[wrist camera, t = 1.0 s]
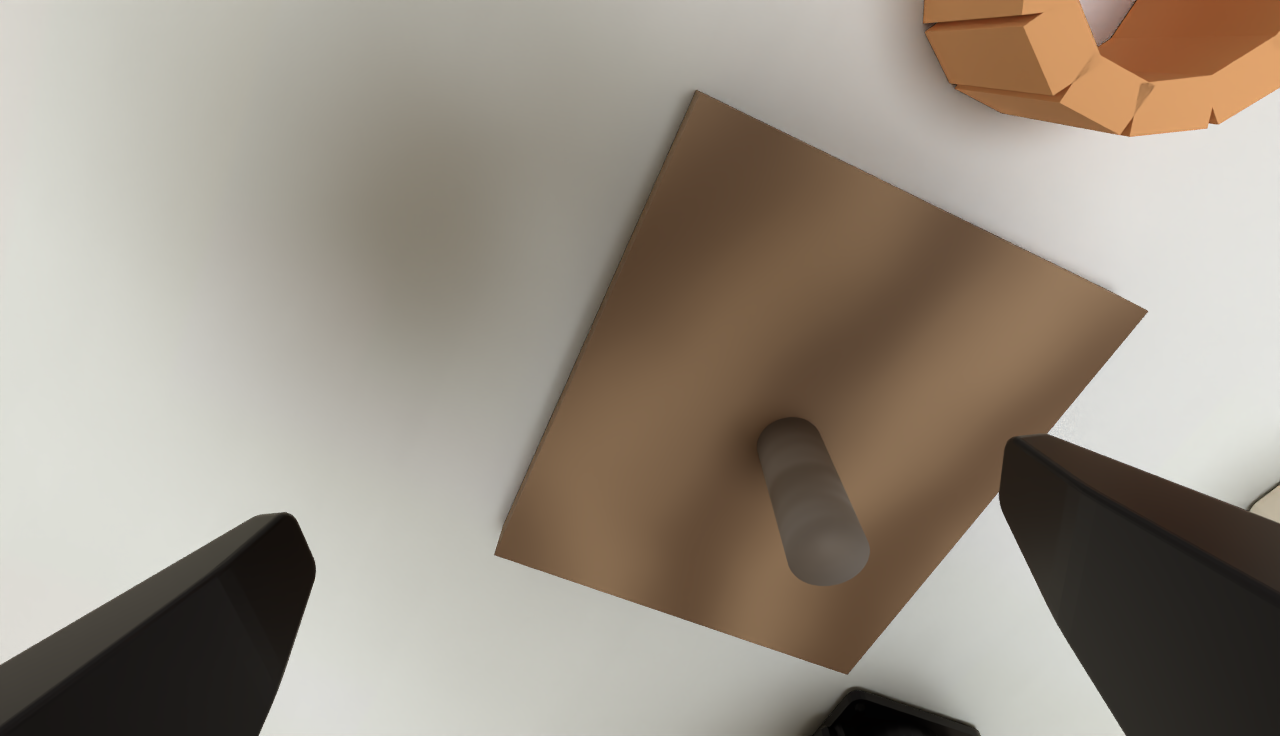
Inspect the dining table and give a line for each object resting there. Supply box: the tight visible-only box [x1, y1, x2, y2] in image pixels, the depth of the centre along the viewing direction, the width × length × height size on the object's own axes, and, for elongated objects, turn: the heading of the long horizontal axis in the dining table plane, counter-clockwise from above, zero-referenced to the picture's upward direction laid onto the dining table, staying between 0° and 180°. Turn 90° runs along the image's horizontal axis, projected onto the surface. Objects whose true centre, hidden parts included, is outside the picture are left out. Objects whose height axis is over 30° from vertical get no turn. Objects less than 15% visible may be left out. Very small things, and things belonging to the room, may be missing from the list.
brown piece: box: [494, 90, 1148, 674], centre depth 19 cm, size 14×16×6 cm
